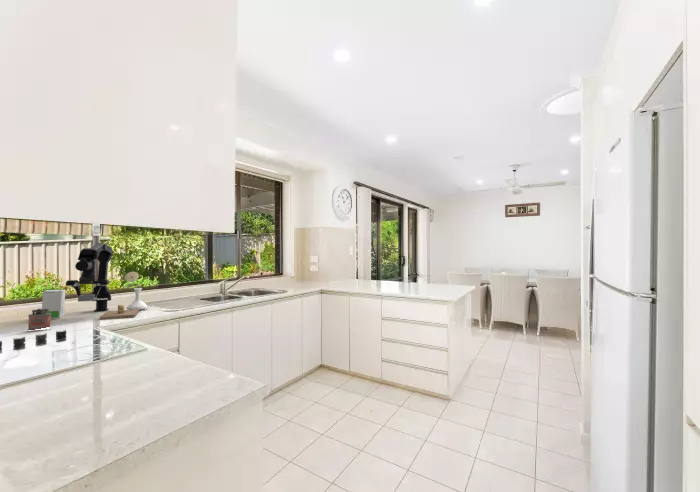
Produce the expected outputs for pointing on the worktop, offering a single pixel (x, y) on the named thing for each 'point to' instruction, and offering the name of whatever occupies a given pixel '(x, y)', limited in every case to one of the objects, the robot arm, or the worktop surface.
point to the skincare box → (54, 302)
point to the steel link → (87, 297)
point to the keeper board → (119, 313)
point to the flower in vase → (137, 303)
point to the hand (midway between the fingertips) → (87, 297)
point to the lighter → (39, 319)
